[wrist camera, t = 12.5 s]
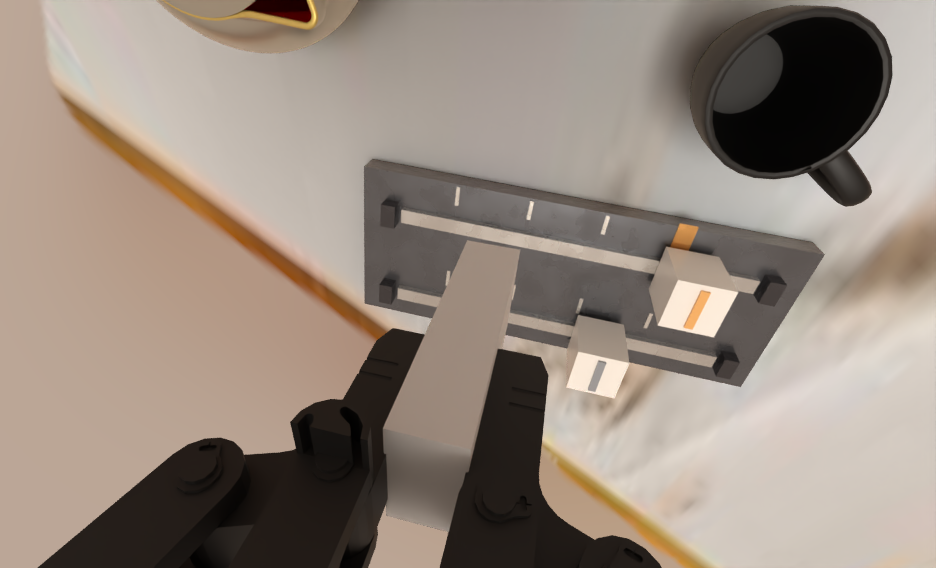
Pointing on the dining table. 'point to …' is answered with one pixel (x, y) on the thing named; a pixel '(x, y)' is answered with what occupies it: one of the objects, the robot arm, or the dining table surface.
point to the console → (575, 264)
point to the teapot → (262, 21)
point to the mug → (794, 95)
